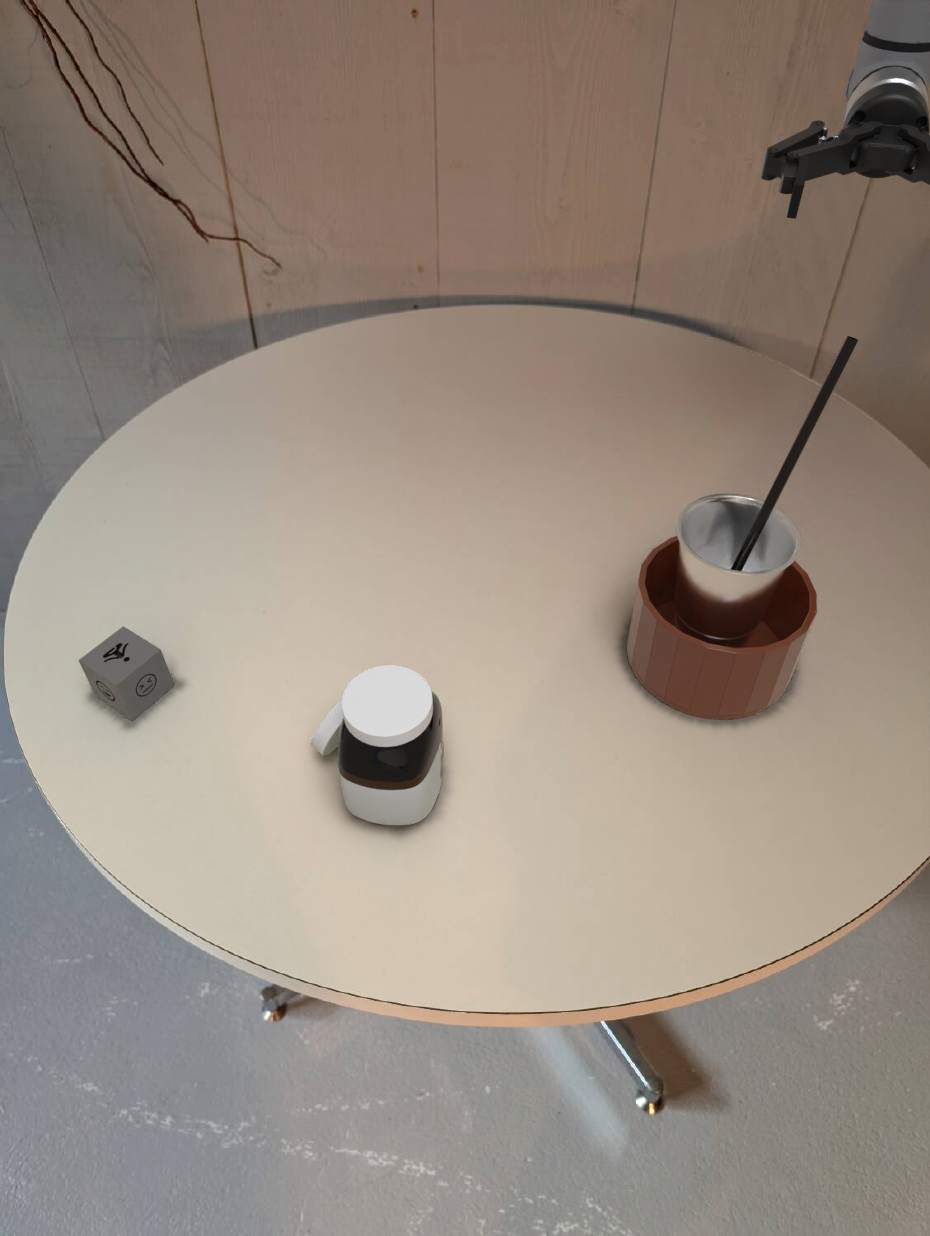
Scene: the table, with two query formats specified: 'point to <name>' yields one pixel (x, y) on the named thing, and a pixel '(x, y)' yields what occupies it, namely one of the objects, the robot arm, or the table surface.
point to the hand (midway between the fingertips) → (881, 211)
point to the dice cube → (127, 672)
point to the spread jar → (386, 745)
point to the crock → (714, 672)
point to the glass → (740, 547)
